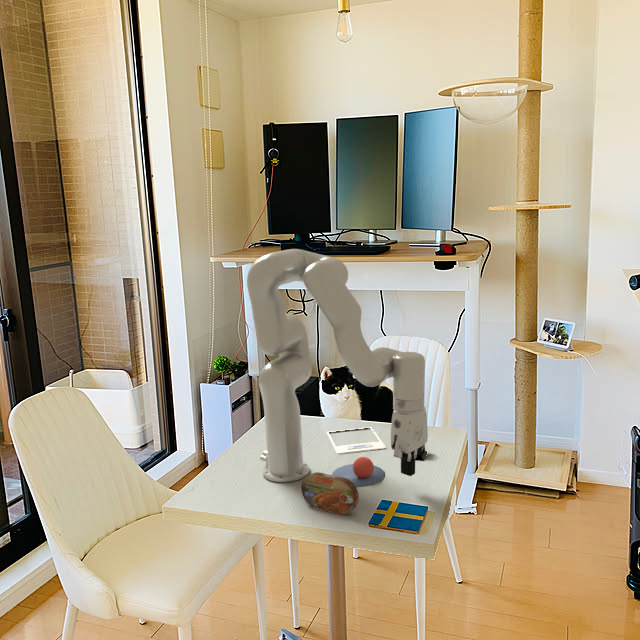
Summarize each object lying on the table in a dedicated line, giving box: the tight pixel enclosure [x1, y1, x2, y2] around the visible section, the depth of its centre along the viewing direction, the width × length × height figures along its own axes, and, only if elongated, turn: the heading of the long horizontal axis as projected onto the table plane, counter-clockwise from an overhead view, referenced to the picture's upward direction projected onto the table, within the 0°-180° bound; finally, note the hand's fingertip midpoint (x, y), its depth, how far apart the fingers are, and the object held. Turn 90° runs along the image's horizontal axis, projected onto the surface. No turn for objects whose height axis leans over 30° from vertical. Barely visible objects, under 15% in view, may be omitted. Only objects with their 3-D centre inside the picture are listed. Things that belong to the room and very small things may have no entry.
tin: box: [300, 471, 360, 516], centre depth 154 cm, size 15×3×8 cm, turn 56°
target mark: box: [331, 463, 385, 488], centre depth 173 cm, size 14×14×1 cm
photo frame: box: [325, 426, 387, 455], centre depth 197 cm, size 15×1×18 cm
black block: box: [415, 444, 428, 462], centre depth 184 cm, size 12×7×5 cm, turn 159°
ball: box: [352, 456, 375, 478], centre depth 171 cm, size 6×6×6 cm
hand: (407, 473), depth 161 cm, fingers closed
